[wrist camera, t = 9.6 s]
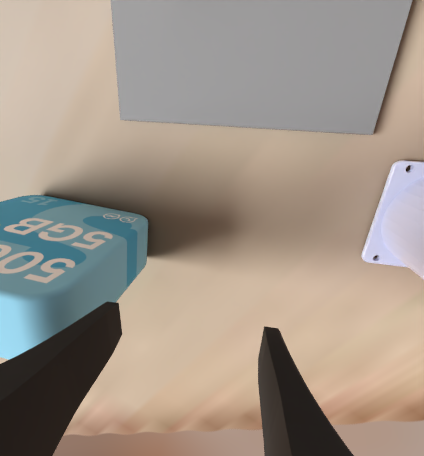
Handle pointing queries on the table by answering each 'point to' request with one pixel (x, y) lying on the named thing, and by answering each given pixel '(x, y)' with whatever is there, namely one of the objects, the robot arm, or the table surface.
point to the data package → (61, 265)
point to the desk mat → (257, 62)
